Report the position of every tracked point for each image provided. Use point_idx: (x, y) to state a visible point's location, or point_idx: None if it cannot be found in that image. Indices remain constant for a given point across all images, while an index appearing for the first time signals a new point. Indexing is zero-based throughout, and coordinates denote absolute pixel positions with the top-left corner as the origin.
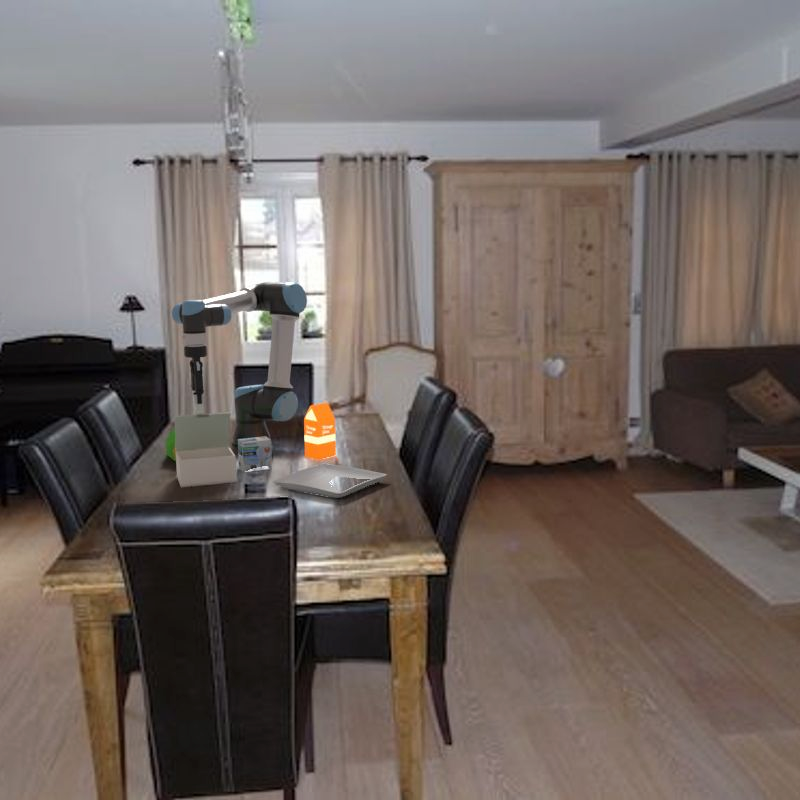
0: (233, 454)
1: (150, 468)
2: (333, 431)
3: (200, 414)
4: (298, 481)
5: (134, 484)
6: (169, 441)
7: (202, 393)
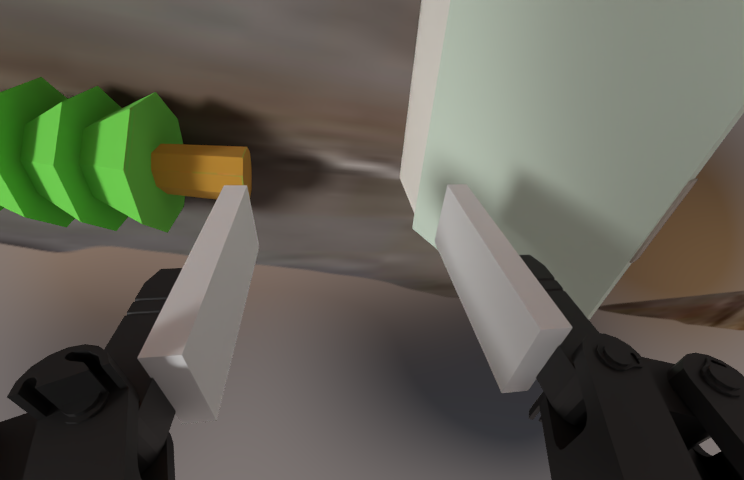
0: None
1: (266, 237)
2: None
3: (649, 239)
4: None
5: (419, 269)
6: (162, 224)
7: (626, 349)
